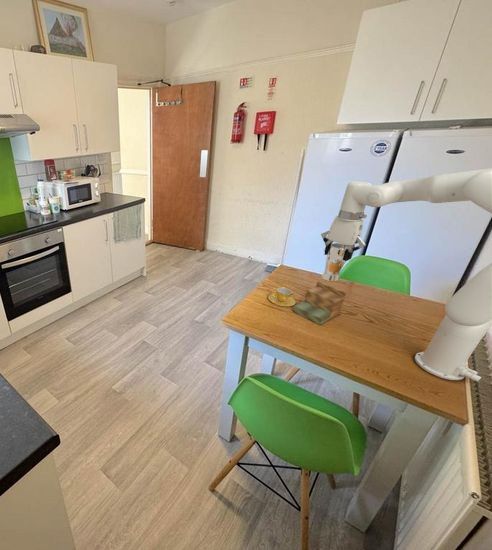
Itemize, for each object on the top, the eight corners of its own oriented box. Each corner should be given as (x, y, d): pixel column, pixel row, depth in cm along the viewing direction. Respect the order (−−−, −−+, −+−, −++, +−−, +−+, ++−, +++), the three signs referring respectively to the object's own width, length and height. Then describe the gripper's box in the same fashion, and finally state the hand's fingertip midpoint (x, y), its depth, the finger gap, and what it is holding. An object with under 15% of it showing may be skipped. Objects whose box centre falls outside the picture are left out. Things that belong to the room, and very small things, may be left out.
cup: (292, 295, 147) (294, 285, 144) (298, 308, 136) (301, 298, 134) (266, 292, 149) (268, 283, 147) (270, 305, 139) (272, 295, 137)
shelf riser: (339, 313, 132) (346, 292, 127) (319, 324, 125) (327, 302, 120) (312, 301, 141) (318, 281, 136) (293, 311, 134) (298, 290, 129)
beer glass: (316, 275, 129) (326, 243, 122) (330, 274, 130) (340, 242, 123) (329, 283, 123) (339, 249, 116) (343, 281, 124) (355, 248, 117)
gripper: (381, 218, 109) (365, 262, 117) (331, 208, 122) (320, 248, 130) (371, 222, 106) (355, 266, 114) (321, 211, 119) (310, 252, 127)
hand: (336, 256), depth 122 cm, fingers closed on beer glass, 7 cm apart
